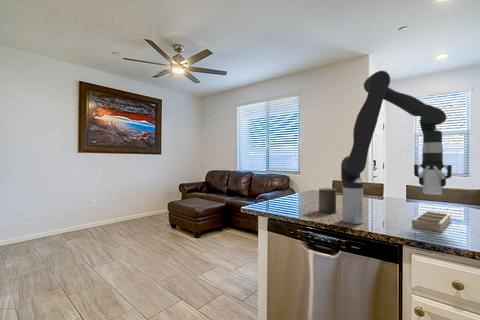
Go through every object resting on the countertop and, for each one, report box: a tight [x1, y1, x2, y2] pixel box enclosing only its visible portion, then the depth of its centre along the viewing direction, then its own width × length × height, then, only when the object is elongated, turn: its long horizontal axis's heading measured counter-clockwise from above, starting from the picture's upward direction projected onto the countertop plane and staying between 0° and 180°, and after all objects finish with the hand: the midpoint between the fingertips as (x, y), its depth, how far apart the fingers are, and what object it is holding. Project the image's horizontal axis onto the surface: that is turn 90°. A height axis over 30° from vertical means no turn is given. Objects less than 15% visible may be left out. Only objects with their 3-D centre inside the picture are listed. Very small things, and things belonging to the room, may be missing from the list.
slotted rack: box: [411, 210, 451, 233], centre depth 109 cm, size 27×10×4 cm, turn 130°
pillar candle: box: [318, 186, 337, 214], centre depth 134 cm, size 10×10×15 cm
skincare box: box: [422, 168, 443, 196], centre depth 109 cm, size 6×4×12 cm
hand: (432, 186), depth 109 cm, fingers closed on skincare box, 7 cm apart
